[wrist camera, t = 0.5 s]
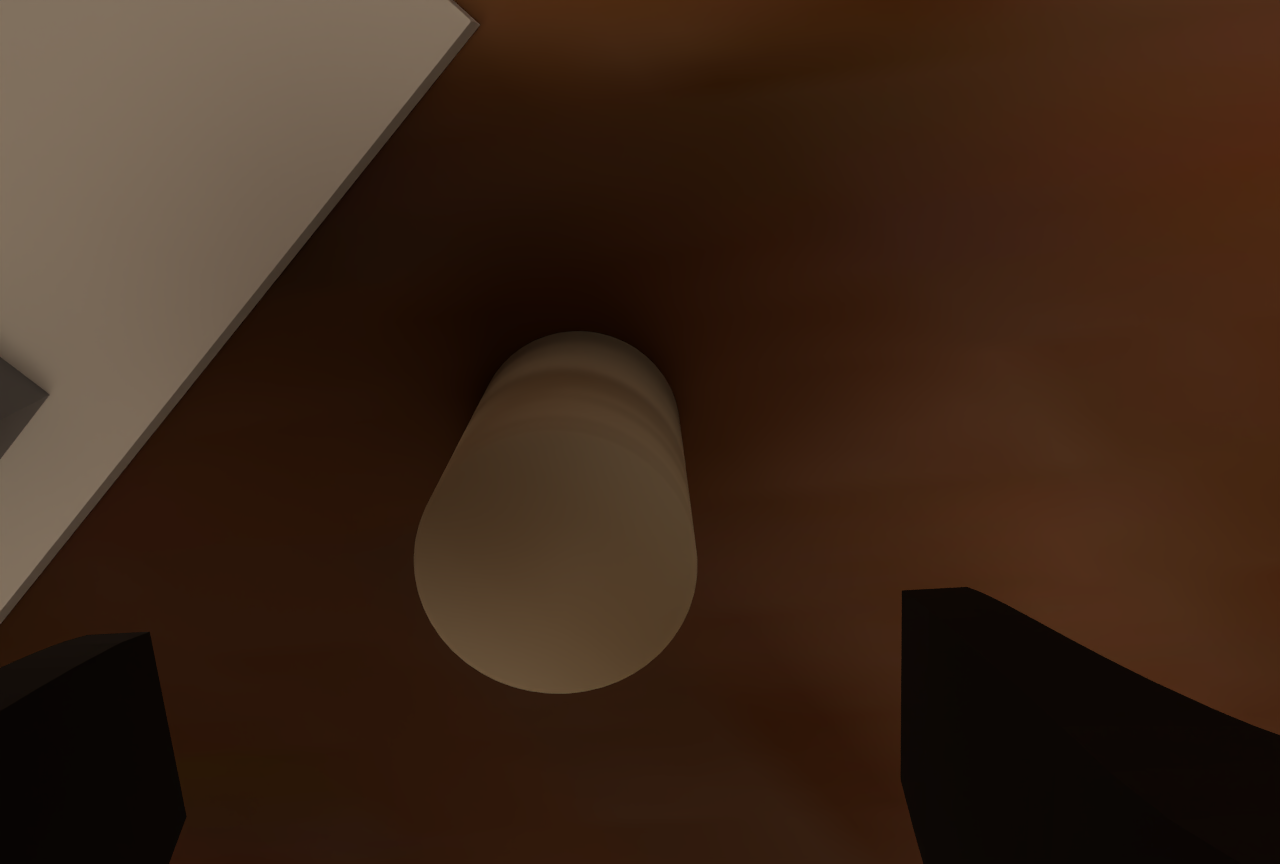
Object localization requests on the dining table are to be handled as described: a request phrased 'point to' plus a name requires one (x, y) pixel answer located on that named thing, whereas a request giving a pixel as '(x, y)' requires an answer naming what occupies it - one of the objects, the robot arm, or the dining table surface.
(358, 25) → the pin board
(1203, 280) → the dining table surface
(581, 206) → the dining table surface
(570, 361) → the wooden pin
